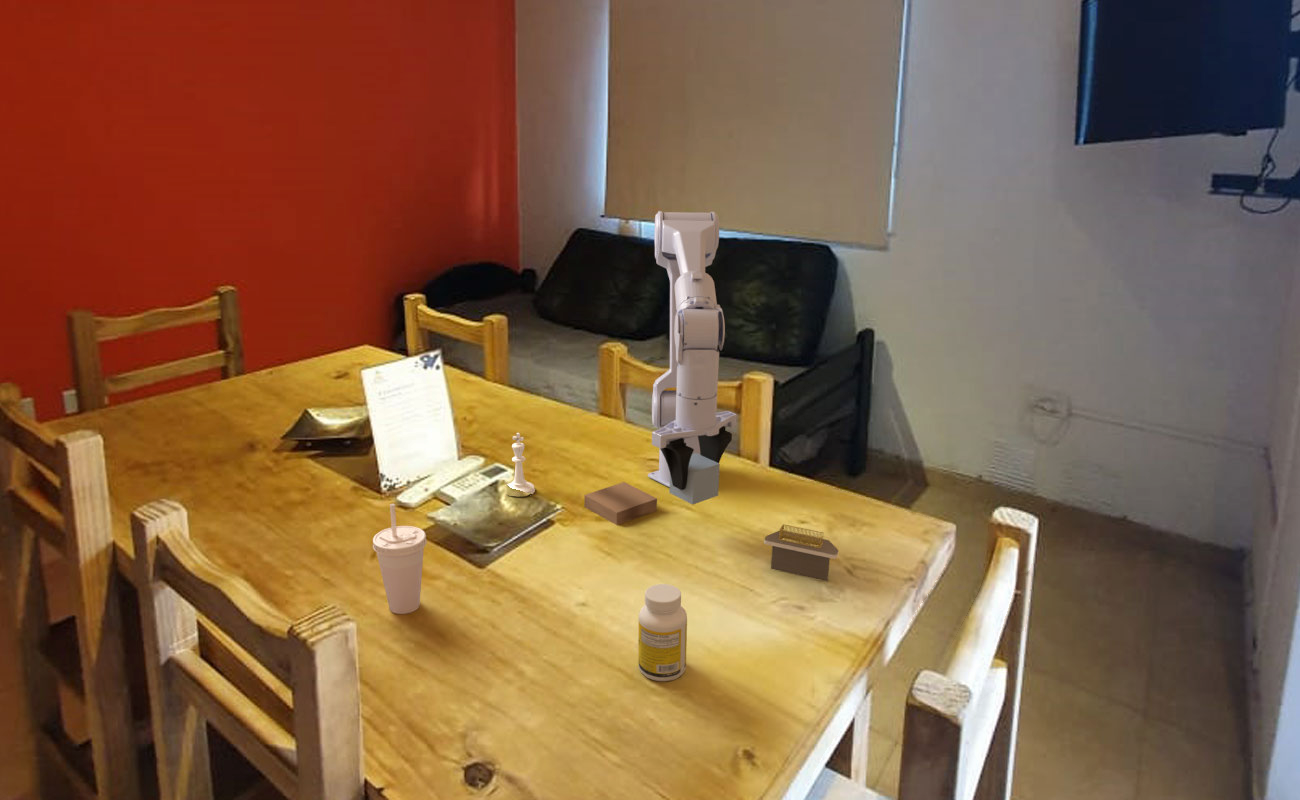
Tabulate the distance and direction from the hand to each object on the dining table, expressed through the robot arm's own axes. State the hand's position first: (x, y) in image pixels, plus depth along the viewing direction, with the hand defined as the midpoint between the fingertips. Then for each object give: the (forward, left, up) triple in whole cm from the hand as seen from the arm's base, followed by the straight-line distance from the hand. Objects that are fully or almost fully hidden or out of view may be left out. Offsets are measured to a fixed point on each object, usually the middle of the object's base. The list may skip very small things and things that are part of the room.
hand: (693, 482), depth 135 cm
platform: (-4, +17, -9) cm, 20 cm away
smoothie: (+42, -7, -9) cm, 43 cm away
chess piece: (+12, -28, -9) cm, 32 cm away
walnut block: (+3, -13, -9) cm, 16 cm away
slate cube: (0, 0, -2) cm, 2 cm away
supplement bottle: (+25, +23, -9) cm, 35 cm away
